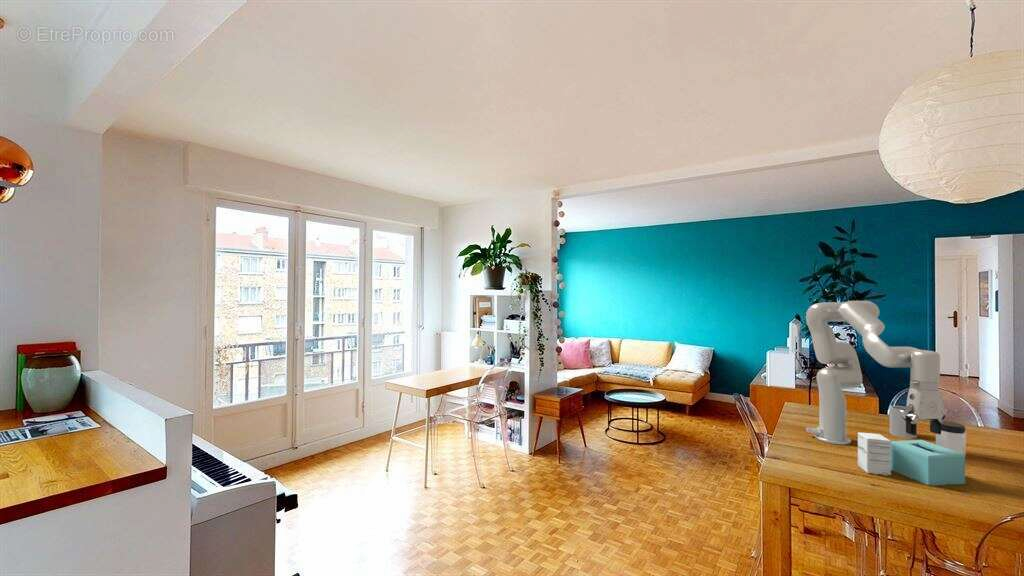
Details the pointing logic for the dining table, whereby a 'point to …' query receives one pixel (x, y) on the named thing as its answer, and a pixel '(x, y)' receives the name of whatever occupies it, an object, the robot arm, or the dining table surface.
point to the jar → (952, 436)
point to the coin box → (928, 462)
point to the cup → (899, 423)
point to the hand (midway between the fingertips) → (923, 433)
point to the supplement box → (874, 453)
